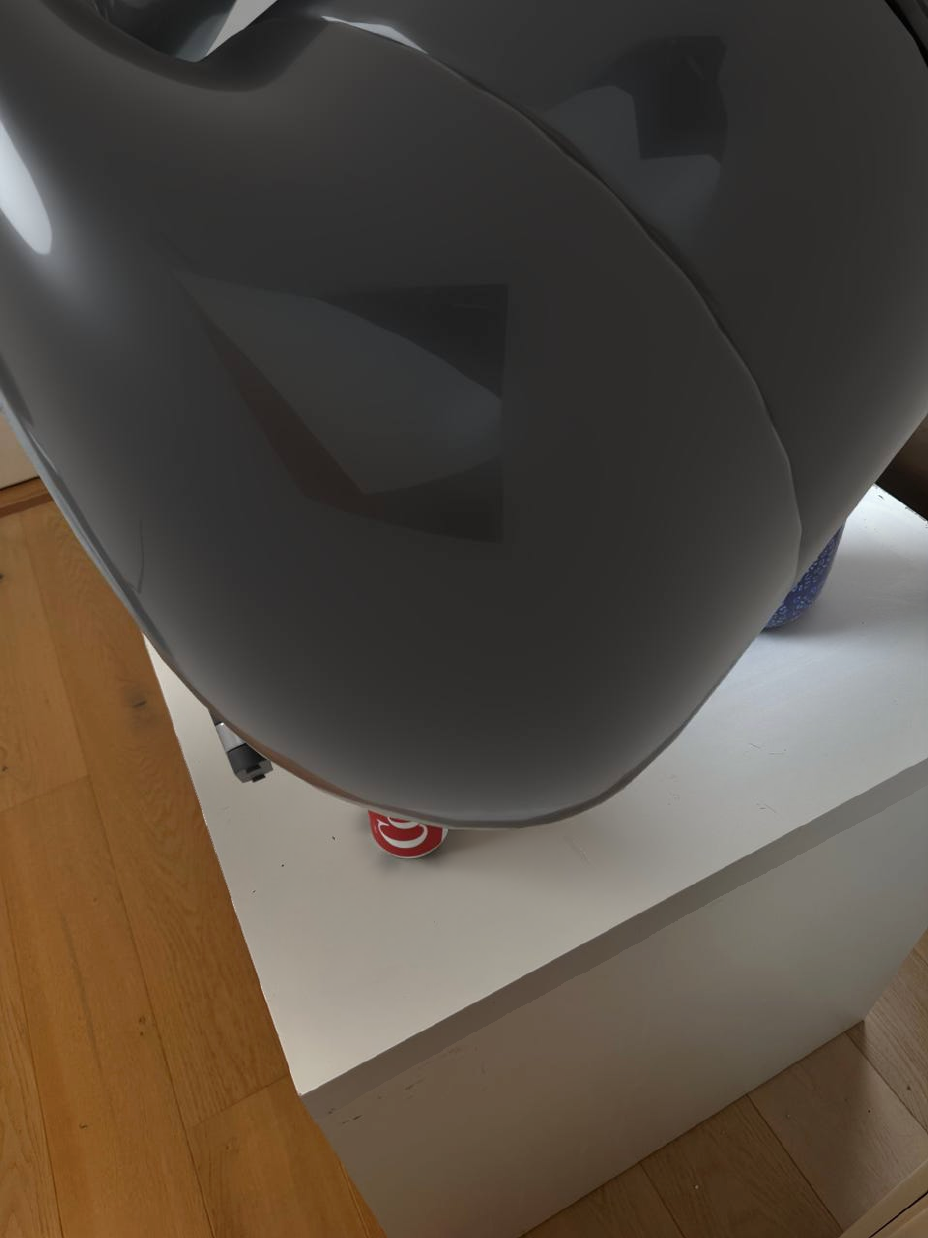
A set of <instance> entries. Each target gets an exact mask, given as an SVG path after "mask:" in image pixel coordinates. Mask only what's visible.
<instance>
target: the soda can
mask: <svg viewBox="0 0 928 1238" xmlns="http://www.w3.org/2000/svg"><path fill="white" fill-rule="evenodd" d="M366 812H367V816H368V820H369V825H370V830H371V834H372V836H373V839H374V841H375V842H376V844H377V845H378V847H379V848H381V850H382V851H384V852H386V853H387V854H389V855H391V856H394V857H397V858H400V859H408V860H409V859H419V858H421V857H425V856H426V855H427V856H428V855H429V854H431V853H432V852H434V851H435V850H436V849H437V848H438V847H439V846H440V845H441V844H442V843H443V842H444V840H445V839H446V838H447V835H448V833H449V831H450V829H446V828H441V827H436V826H431V825H426V824H421V823H416V822H411V821H406V820H401V819H396V818H391V817H386V816H383V815H380V814H378V813H375V812H372V811H370V810H367V809H366Z"/></svg>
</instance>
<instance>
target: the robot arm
mask: <svg viewBox="0 0 928 1238" xmlns="http://www.w3.org/2000/svg"><path fill="white" fill-rule="evenodd" d="M237 2H238V0H0V412H1V414H2V416H3V418H4V419H5V420H6V422H7V424H8V426H9V427H10V429H11V431H12V433H13V434H14V436H15V438H16V439H17V441H18V443H19V444H20V446H21V448H22V450H23V451H24V454H25V455H26V457H27V458H28V460H29V462H30V463H31V465H32V466H33V468H34V470H35V471H36V473H37V474H38V476H39V478H40V479H41V481H42V483H43V484H44V486H45V488H46V490H47V491H48V493H49V494H50V496H51V498H52V499H53V501H54V503H55V504H56V506H57V508H58V509H59V511H60V513H61V515H62V516H63V518H64V519H65V521H66V523H67V524H68V525H69V527H70V529H71V530H72V533H73V534H74V535H75V538H76V539H77V540H78V542H79V544H80V546H81V547H82V549H83V550H84V552H85V553H86V555H87V556H88V558H89V559H90V561H91V562H92V563H93V565H94V566H95V567H96V569H97V571H98V572H99V573H100V575H101V576H102V578H103V579H104V580H105V582H106V583H107V584H108V586H109V587H110V589H111V590H112V591H113V593H114V594H115V596H116V597H117V599H118V600H119V601H120V602H121V604H122V605H123V607H124V608H125V610H126V611H127V613H128V614H129V615H130V617H131V618H132V620H133V621H134V622H135V624H136V625H137V627H138V628H139V630H140V631H141V632H142V634H143V635H144V636H145V638H146V640H147V641H148V642H149V644H150V645H151V646H152V648H153V649H154V651H155V652H156V653H157V655H158V656H159V657H160V659H161V661H162V662H163V663H165V664H166V666H167V667H168V668H169V669H170V670H171V671H172V673H173V674H174V675H175V676H176V677H177V679H179V681H180V682H181V683H182V684H183V685H184V686H185V687H186V688H187V690H188V691H189V692H190V693H191V694H192V695H193V696H194V697H195V699H197V700H198V701H199V703H200V704H201V705H202V706H203V707H205V708H206V709H207V711H208V714H209V716H210V719H211V721H212V723H213V725H214V728H215V731H216V733H217V735H218V738H219V741H220V743H221V745H222V748H223V750H224V753H225V755H226V757H227V760H228V762H229V764H230V767H231V770H232V772H233V774H234V776H235V777H236V778H237V779H238V780H239V781H240V782H241V784H245V783H249V782H250V781H251V782H252V784H254V783H257V782H259V781H262V780H264V779H265V778H267V777H266V775H267V774H269V773H271V772H272V771H273V770H274V767H273V764H274V765H276V766H277V767H279V768H281V770H284V771H286V772H287V773H289V774H291V775H293V776H294V777H296V778H297V779H298V780H301V781H303V783H306V784H308V785H309V786H311V787H313V788H314V789H315V790H318V791H320V792H321V793H323V794H326V795H328V796H331V797H333V798H336V799H338V800H340V801H343V802H346V803H348V804H351V805H353V806H357V807H359V808H362V809H365V810H366V811H367V810H370V811H372V812H375V813H378V814H380V815H383V816H386V817H391V818H396V819H401V820H406V821H411V822H416V823H421V824H426V825H431V826H436V827H441V828H446V829H449V830H470V831H471V830H472V831H473V830H474V831H475V830H476V831H514V830H515V831H516V830H519V829H526V828H531V827H536V826H543V825H550V824H553V823H558V822H561V821H565V820H567V819H572V818H574V817H577V816H579V815H582V814H583V813H585V812H588V811H590V810H592V809H594V808H596V807H598V806H600V805H602V804H604V803H606V801H608V800H610V799H611V798H613V797H614V796H615V795H617V794H619V793H620V792H622V791H623V790H625V789H626V788H627V787H628V786H629V785H630V784H631V783H632V782H634V780H636V778H638V776H640V775H641V774H642V773H643V772H644V771H645V770H646V769H647V768H648V767H649V766H650V765H651V764H652V763H653V762H654V761H656V759H658V757H660V755H662V753H664V751H666V750H667V749H668V748H669V747H670V746H671V745H672V744H673V743H674V742H675V741H676V740H677V739H678V738H679V736H680V735H681V734H682V733H683V731H684V730H685V729H686V728H687V726H688V725H689V724H690V723H691V722H692V720H693V719H694V718H695V716H696V715H697V714H698V713H699V712H700V710H701V709H702V708H703V706H704V705H706V703H707V702H708V700H709V699H710V698H711V696H712V695H713V694H715V692H716V690H718V688H719V686H720V685H721V684H722V683H723V682H724V680H725V679H726V678H727V676H728V675H729V674H730V673H731V671H732V670H733V669H734V667H735V666H736V665H737V664H738V663H739V662H740V659H741V658H742V657H743V656H744V655H745V653H746V652H747V650H748V649H749V648H750V646H751V645H752V644H753V642H754V641H755V640H756V638H757V637H758V636H759V634H760V633H761V632H762V630H763V629H765V628H764V627H765V625H766V624H767V623H768V621H769V620H770V619H771V617H772V616H773V615H774V613H775V612H776V611H777V609H778V608H779V607H780V606H781V604H782V603H783V601H784V599H785V597H786V596H787V594H788V593H789V592H790V591H791V590H792V589H793V588H794V587H795V586H796V585H797V583H798V582H799V581H800V579H801V578H802V577H803V575H804V574H805V573H806V572H807V570H808V569H809V568H810V566H811V565H812V564H813V562H814V561H815V560H816V559H817V557H818V556H819V555H820V553H821V552H822V551H823V549H824V548H825V547H826V545H827V544H828V543H829V542H830V540H831V539H832V538H833V536H834V535H835V534H836V532H837V531H838V530H839V529H840V527H841V526H842V525H843V523H844V522H845V521H846V522H847V520H846V519H848V518H849V517H850V516H851V514H852V513H853V512H854V510H855V509H856V508H857V507H858V505H859V504H860V503H861V502H862V500H863V499H864V497H865V496H866V495H867V494H868V492H869V491H870V490H871V488H872V487H873V486H874V484H875V483H876V482H877V480H878V479H879V478H880V476H881V475H882V474H883V473H884V472H885V470H886V469H887V467H888V466H889V465H890V463H891V462H893V460H894V458H895V457H896V456H897V455H898V453H899V452H900V450H901V449H902V448H903V447H904V445H905V444H906V443H907V441H908V440H909V439H910V438H911V436H912V435H913V433H914V432H915V431H916V430H917V428H919V426H920V424H921V423H922V422H923V420H924V419H925V418H926V416H927V415H928V0H275V1H273V3H272V4H271V5H269V6H268V7H266V9H265V10H264V11H262V12H261V13H260V14H259V15H257V17H256V18H254V19H253V20H252V21H251V22H249V23H248V24H247V25H246V26H245V27H243V29H241V30H239V31H237V32H235V33H234V34H233V35H231V36H230V37H228V38H227V39H226V40H224V41H223V42H222V43H221V44H220V45H218V46H217V47H216V48H214V50H212V51H211V48H212V47H213V45H214V43H215V42H216V40H217V39H218V37H219V36H220V33H221V32H222V30H223V29H224V26H225V25H226V23H227V21H228V20H229V18H230V16H231V15H232V13H233V11H234V8H235V6H236V5H237ZM210 51H211V52H210ZM209 52H210V53H209Z"/></svg>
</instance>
